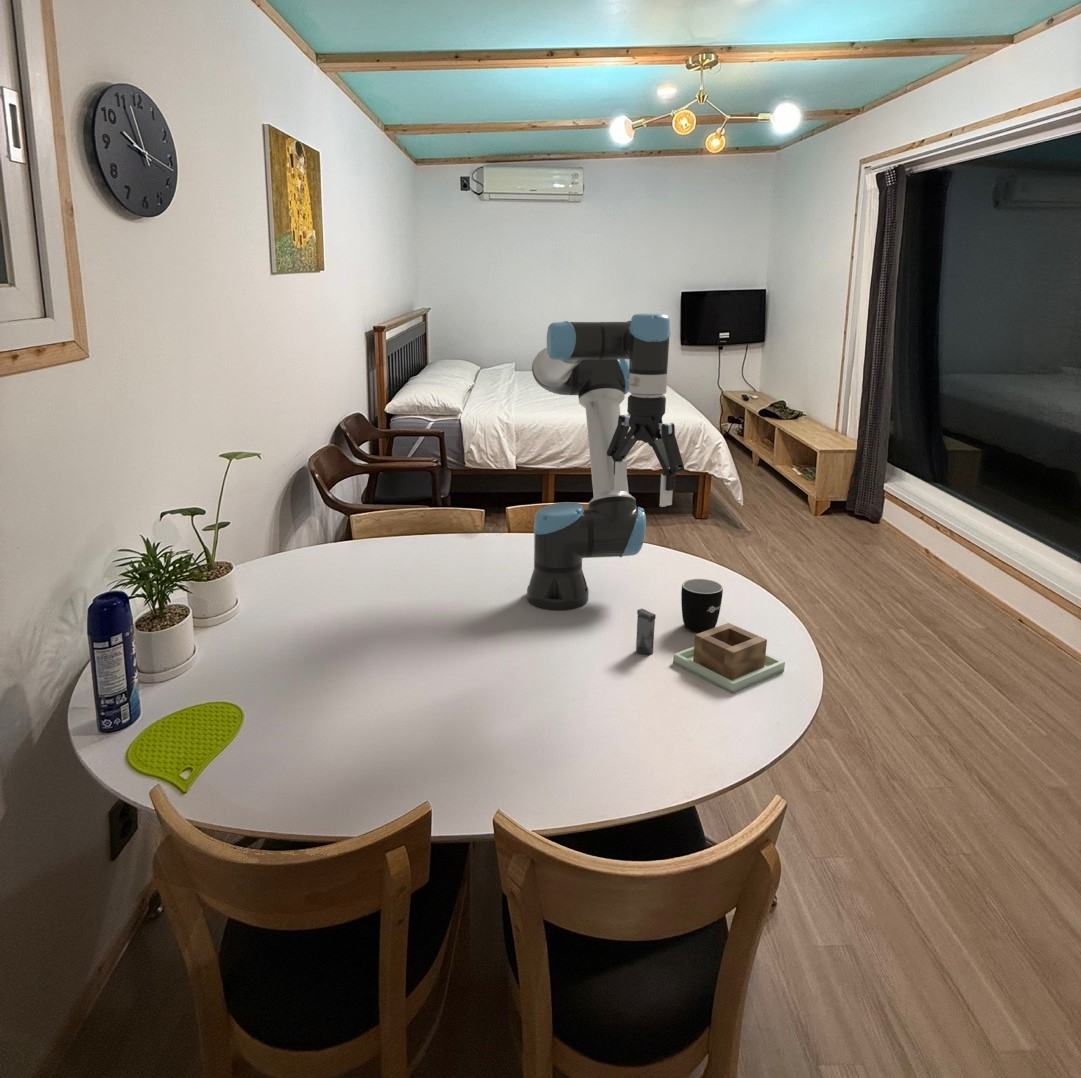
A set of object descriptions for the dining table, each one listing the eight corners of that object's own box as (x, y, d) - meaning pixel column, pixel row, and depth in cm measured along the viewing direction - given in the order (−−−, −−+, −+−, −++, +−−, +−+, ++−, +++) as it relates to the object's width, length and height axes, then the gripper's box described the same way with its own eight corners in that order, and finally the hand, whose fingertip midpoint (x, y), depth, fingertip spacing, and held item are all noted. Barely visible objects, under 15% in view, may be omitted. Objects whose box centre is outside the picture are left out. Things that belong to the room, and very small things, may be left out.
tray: (673, 662, 164) (673, 654, 164) (724, 643, 173) (725, 635, 172) (732, 693, 152) (732, 684, 152) (784, 670, 161) (785, 661, 160)
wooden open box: (726, 648, 169) (728, 622, 167) (764, 666, 161) (767, 639, 160) (693, 661, 163) (695, 634, 162) (731, 680, 156) (733, 652, 154)
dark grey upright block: (631, 650, 169) (633, 611, 167) (644, 646, 172) (646, 607, 169) (644, 657, 166) (646, 617, 164) (657, 652, 168) (659, 613, 166)
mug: (706, 639, 175) (709, 596, 172) (671, 628, 180) (674, 586, 177) (733, 623, 183) (737, 581, 180) (699, 612, 189) (702, 572, 186)
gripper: (592, 389, 166) (589, 488, 173) (679, 404, 147) (672, 515, 154) (619, 386, 170) (615, 483, 177) (707, 400, 151) (699, 508, 158)
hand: (642, 498), depth 165 cm, fingers open, 13 cm apart
